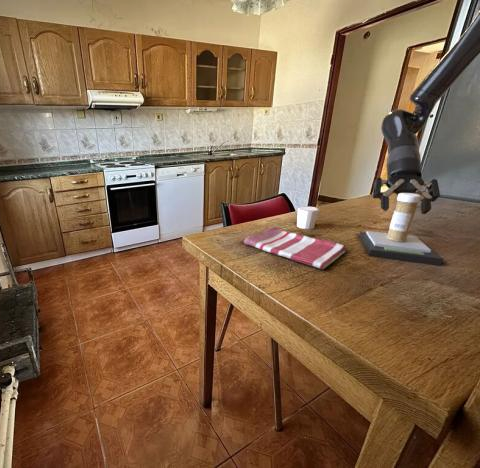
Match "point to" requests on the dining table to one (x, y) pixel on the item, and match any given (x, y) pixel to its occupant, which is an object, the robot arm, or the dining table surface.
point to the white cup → (307, 217)
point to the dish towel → (297, 247)
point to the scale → (399, 248)
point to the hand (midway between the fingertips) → (405, 211)
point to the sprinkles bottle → (403, 216)
